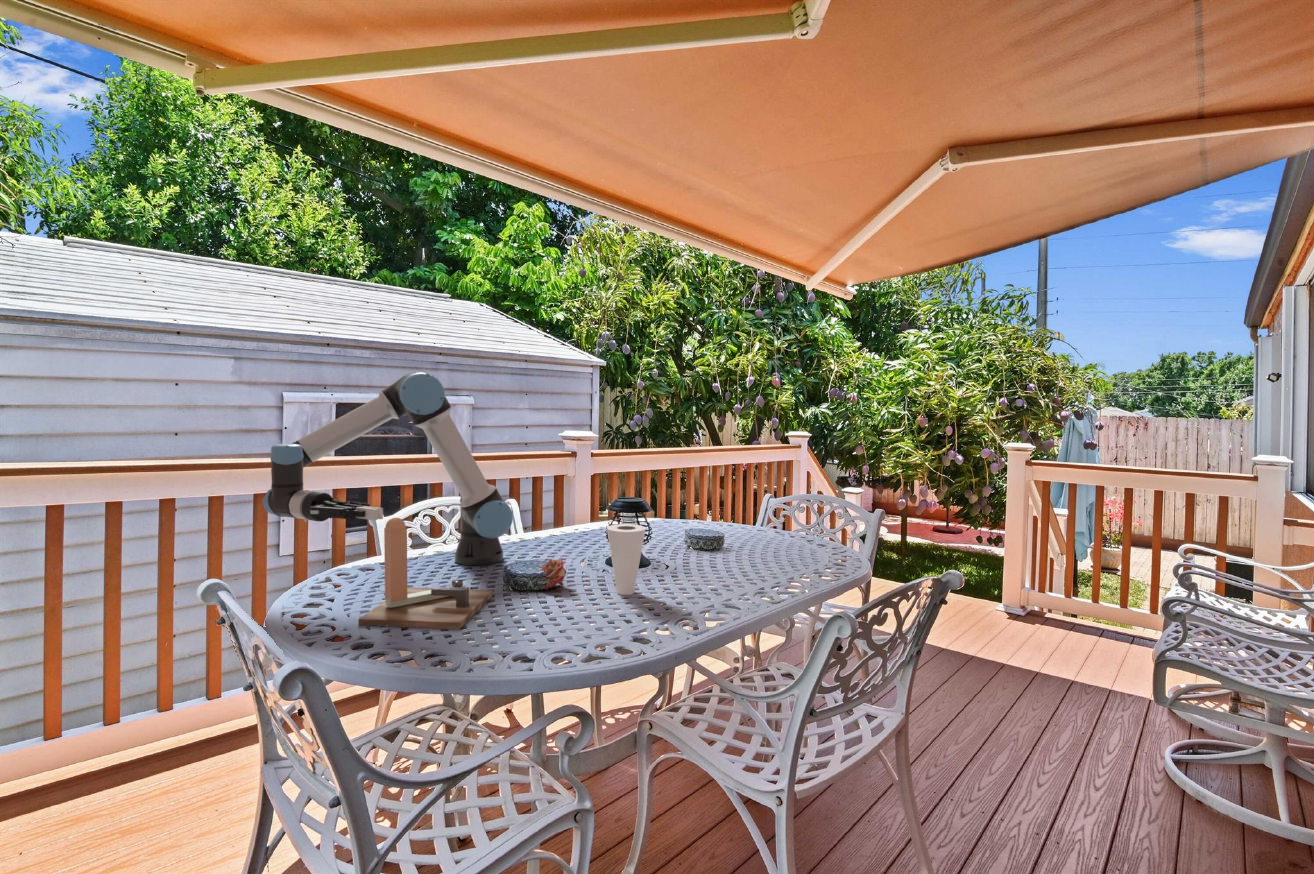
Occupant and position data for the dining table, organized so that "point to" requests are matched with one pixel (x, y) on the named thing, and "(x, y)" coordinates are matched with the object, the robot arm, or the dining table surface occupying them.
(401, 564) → the link
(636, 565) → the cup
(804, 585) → the dining table surface
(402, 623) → the board
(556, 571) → the flower
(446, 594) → the keeper
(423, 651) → the dining table surface
